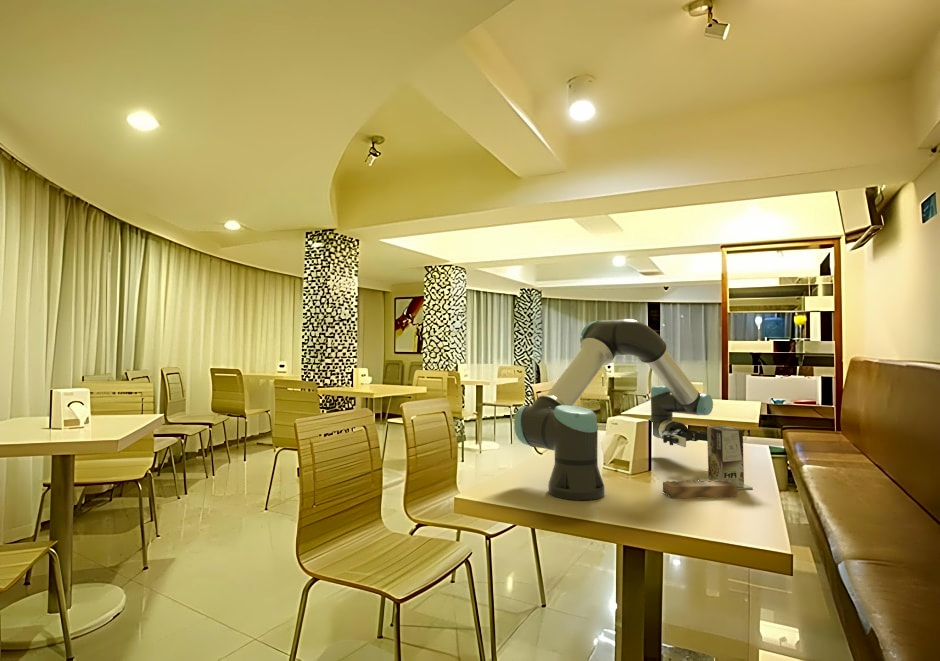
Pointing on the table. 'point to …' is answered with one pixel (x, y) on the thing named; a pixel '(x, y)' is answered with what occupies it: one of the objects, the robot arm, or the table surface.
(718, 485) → the perforated block
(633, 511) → the table surface
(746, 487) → the stub pad
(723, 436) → the coffee box
